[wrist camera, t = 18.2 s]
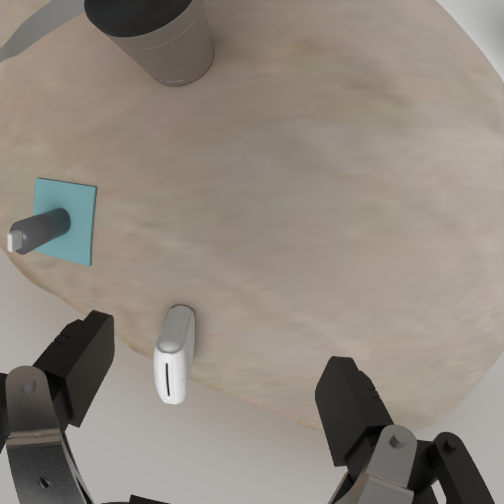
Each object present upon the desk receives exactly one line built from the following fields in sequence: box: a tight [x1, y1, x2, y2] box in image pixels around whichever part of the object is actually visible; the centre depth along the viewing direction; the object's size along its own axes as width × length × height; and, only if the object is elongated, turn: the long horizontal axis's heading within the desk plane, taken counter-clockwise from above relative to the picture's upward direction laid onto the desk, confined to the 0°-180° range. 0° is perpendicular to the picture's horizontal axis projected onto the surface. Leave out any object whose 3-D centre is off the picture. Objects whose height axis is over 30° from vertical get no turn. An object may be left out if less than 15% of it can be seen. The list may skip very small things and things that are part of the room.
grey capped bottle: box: [8, 208, 71, 255], centre depth 31 cm, size 4×4×12 cm
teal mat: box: [33, 178, 97, 266], centre depth 37 cm, size 12×12×1 cm
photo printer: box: [154, 305, 195, 404], centre depth 38 cm, size 10×4×12 cm, turn 173°
